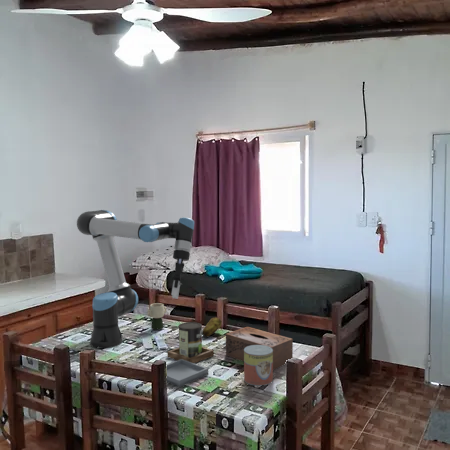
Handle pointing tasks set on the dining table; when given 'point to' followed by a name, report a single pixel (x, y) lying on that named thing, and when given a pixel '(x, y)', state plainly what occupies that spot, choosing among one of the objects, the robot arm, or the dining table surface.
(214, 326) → the potato
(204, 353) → the holder frame
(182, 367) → the tray
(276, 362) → the tissue box cover
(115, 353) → the dining table surface
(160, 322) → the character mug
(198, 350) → the coffee can
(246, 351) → the canned food
